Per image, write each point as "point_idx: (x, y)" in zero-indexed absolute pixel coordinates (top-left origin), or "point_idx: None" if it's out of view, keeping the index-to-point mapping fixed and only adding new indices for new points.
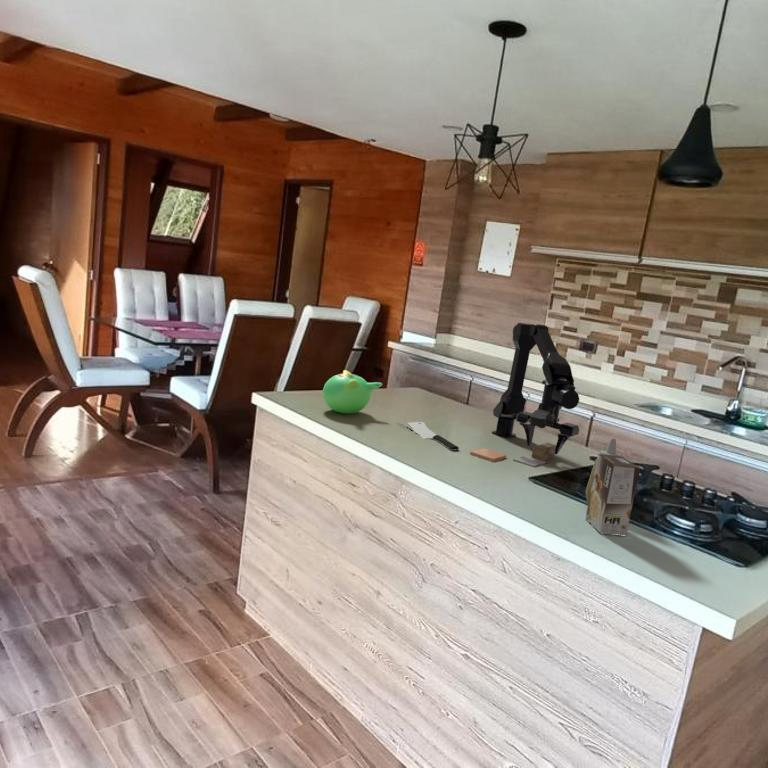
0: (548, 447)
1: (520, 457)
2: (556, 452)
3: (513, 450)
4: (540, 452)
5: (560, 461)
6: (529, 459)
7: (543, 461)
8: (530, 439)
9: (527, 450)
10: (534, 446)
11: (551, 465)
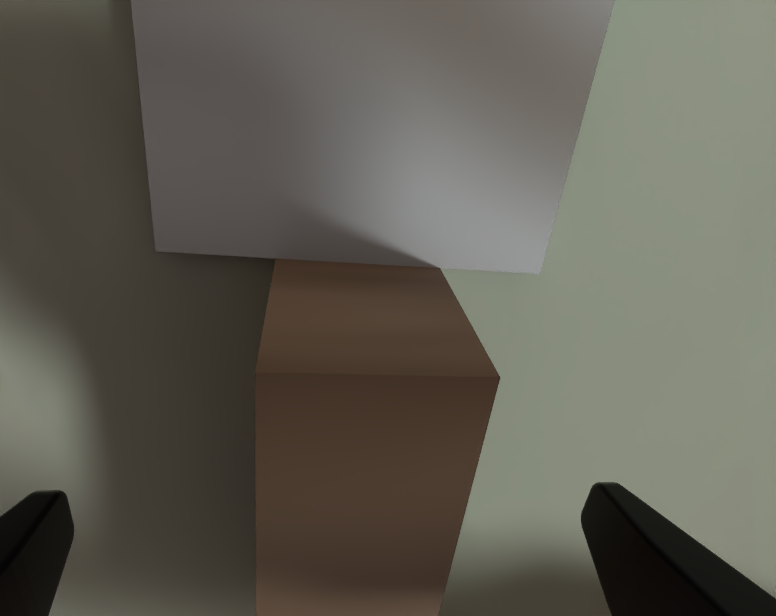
0: (256, 603)
1: (586, 47)
2: (2, 519)
3: (725, 389)
4: (292, 324)
5: (121, 523)
6: (417, 90)
7: (200, 234)
8: (662, 612)
9: (577, 534)
10: (481, 401)
11: (32, 211)
